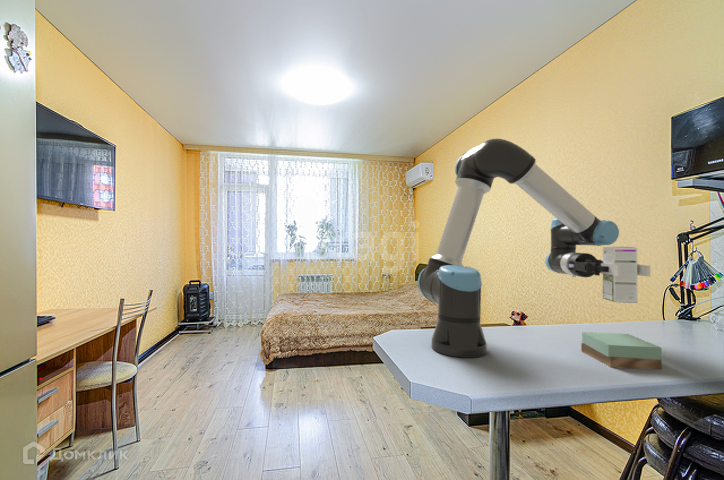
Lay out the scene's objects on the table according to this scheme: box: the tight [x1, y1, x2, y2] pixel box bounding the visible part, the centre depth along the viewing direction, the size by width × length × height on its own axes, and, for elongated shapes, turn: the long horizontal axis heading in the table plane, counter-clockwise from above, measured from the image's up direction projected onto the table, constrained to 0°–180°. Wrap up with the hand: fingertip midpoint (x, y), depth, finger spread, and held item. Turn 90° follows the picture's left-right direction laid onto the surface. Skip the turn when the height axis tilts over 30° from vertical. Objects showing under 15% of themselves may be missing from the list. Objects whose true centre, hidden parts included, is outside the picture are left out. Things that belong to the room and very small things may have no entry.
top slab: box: [581, 331, 662, 361], centre depth 88 cm, size 12×12×3 cm
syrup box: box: [602, 246, 638, 304], centre depth 88 cm, size 6×6×14 cm
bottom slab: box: [580, 342, 662, 370], centre depth 88 cm, size 12×12×3 cm
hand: (633, 270), depth 83 cm, fingers closed on syrup box, 6 cm apart
